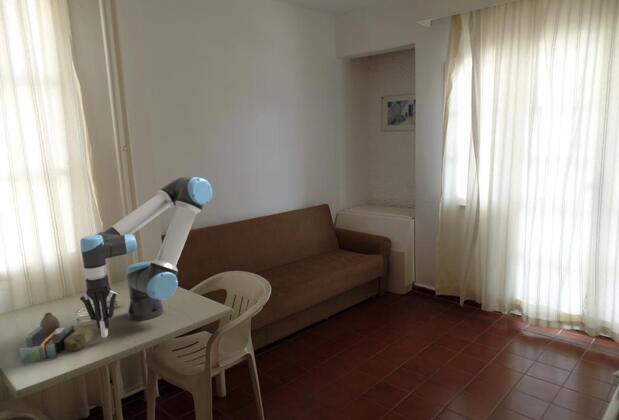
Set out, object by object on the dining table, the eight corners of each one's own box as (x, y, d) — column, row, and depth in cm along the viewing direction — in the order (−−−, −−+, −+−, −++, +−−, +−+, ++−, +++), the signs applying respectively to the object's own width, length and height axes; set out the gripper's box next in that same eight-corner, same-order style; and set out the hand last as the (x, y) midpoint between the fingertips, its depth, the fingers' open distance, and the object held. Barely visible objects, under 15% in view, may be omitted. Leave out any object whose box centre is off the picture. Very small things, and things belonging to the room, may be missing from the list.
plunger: (75, 336, 170) (73, 322, 169) (56, 358, 152) (53, 342, 152) (64, 338, 169) (61, 323, 168) (43, 359, 152) (40, 344, 151)
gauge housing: (71, 340, 167) (69, 324, 166) (55, 358, 153) (52, 340, 152) (40, 344, 166) (37, 327, 165) (21, 362, 152) (18, 344, 151)
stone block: (95, 337, 169) (93, 326, 168) (78, 352, 158) (76, 339, 157) (81, 338, 169) (79, 326, 169) (63, 353, 158) (61, 340, 157)
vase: (46, 339, 170) (43, 318, 169) (38, 335, 174) (34, 315, 172) (64, 332, 176) (61, 311, 175) (55, 329, 180) (52, 309, 178)
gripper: (117, 272, 165) (125, 329, 169) (81, 275, 163) (90, 333, 167) (111, 277, 158) (120, 338, 161) (74, 281, 156) (83, 342, 159)
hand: (104, 335), depth 164 cm, fingers closed
